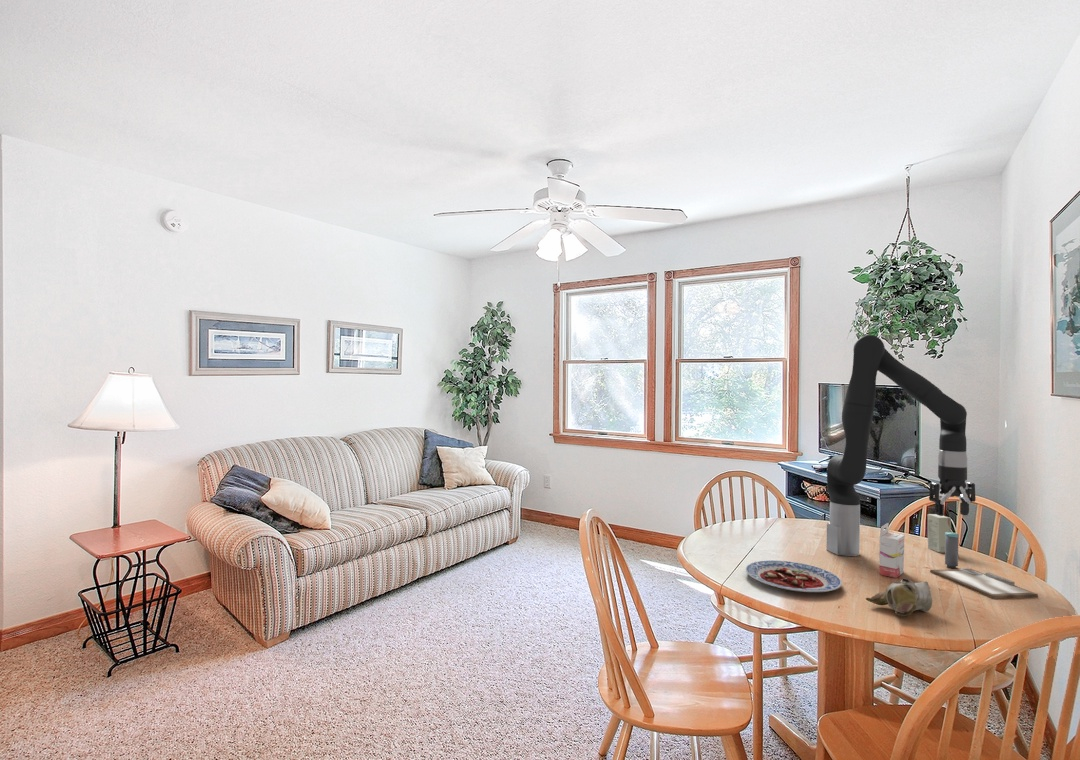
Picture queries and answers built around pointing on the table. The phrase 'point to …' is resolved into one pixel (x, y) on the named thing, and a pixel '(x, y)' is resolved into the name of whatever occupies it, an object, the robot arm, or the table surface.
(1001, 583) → the clipboard
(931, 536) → the skincare box
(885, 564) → the ink cartridge box
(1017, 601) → the table surface
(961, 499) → the robot arm
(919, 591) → the ceramic sculpture
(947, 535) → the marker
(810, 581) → the ceramic plate
